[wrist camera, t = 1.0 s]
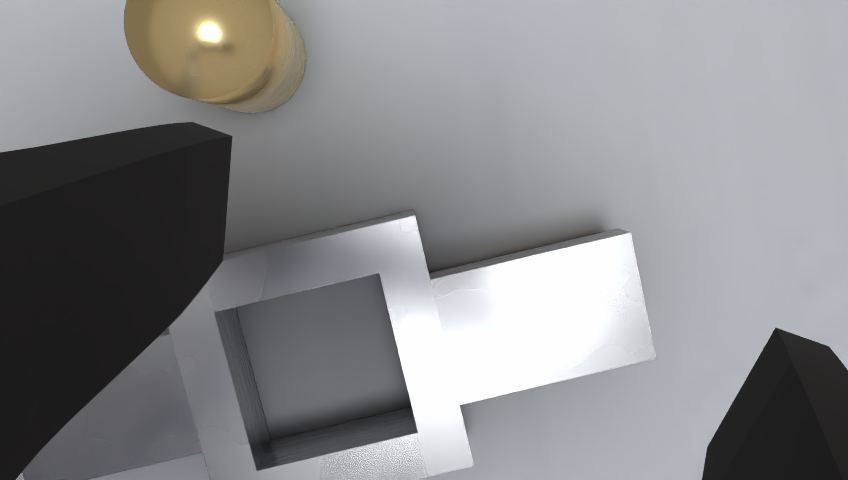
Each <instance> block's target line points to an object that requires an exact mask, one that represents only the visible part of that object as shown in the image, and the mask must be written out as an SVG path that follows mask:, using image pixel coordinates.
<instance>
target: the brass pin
mask: <svg viewBox="0 0 848 480" xmlns="http://www.w3.org/2000/svg"><path fill="white" fill-rule="evenodd" d="M124 30H125V36H126V41H127V44H128V47H129V50H130V52H131V54H132V56H133V58H134V60H135V62H136V63H137V65H138V66H139V68H140V69H141V70H142V71H143V72H144V74H145V75H146V76H147V77H148V78H149V79H151V80H152V81H153V82H154V83H155V84H157V85H158V86H160V87H161V88H163V89H165V90H167V91H169V92H171V93H173V94H176V95H179V96H182V97H186V98H189V99H193V100H197V101H201V102H204V103H208V104H212V105H216V106H219V107H223V108H227V109H231V110H234V111H238V112H243V113H262V112H266V111H270V110H272V109H275V108H277V107H279V106H280V105H282V104H283V103H285V102H286V101H287V100H288V99H290V97H291V96H292V95H293V94H294V93H295V92H296V90H297V89H298V87H299V85H300V83H301V81H302V79H303V76H304V72H305V67H306V51H305V46H304V42H303V39H302V37H301V35H300V32H299V31H298V29H297V28H296V26H295V25H294V23H293V22H292V21H291V20H290V19H289V17H288V16H287V15H286V14H285V12H284V11H283V10H282V9H281V8H280V6H279V5H278V4H277V3H276V1H275V0H127V1H126V6H125V11H124Z"/></svg>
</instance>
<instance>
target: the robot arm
mask: <svg viewBox="0 0 848 480" xmlns="http://www.w3.org/2000/svg"><path fill="white" fill-rule="evenodd" d="M231 146H232V136H230V135H227V134H225V133H222V132H219V131H216V130H213V129H210V128H208V127H205V126H202V125H199V124H196V123H193V122H187V123H173V124H165V125H158V126H151V127H145V128H139V129H133V130H127V131H121V132H116V133H111V134H105V135H100V136H94V137H89V138H83V139H78V140H72V141H67V142H61V143H56V144H51V145H45V146H40V147H34V148H27V149H21V150H14V151H7V152H1V153H0V480H16V478H17V477H18V476H19V475H20V474H21V473H22V471H23V470H24V469H25V468H26V467H27V466H28V464H29V463H30V462H31V461H32V460H33V459H34V457H35V456H36V455H37V454H38V453H39V452H40V451H41V449H42V448H43V447H44V446H45V445H46V444H47V443H48V442H49V441H50V440H51V439H52V438H53V437H54V436H55V435H56V434H57V433H58V432H59V431H60V430H61V429H62V428H63V427H64V426H65V425H66V424H67V423H68V422H69V421H70V420H71V419H72V418H73V417H74V416H75V415H76V414H77V413H78V412H79V411H81V410H82V409H83V408H84V407H85V406H86V405H87V404H88V403H89V402H90V401H91V400H92V399H93V398H94V397H95V396H96V395H97V394H99V393H100V392H101V391H102V390H103V389H104V388H105V387H106V386H107V385H108V384H109V383H110V382H111V381H112V380H113V379H114V378H115V377H117V376H118V375H119V374H120V373H121V372H122V371H123V370H124V369H125V368H126V367H127V366H128V365H129V364H130V363H131V362H132V361H134V360H135V359H136V358H137V357H138V356H139V355H140V354H141V353H142V352H143V351H144V350H145V349H146V348H147V347H148V346H149V345H150V344H151V343H152V342H153V341H154V340H155V339H157V338H158V337H159V336H160V335H161V334H162V333H163V332H164V331H165V330H166V329H167V328H168V327H169V326H170V325H171V324H172V323H173V322H174V321H175V320H176V319H177V318H178V317H179V316H180V315H181V314H182V313H183V312H184V311H185V309H186V308H187V307H188V306H189V304H190V303H191V302H192V301H193V299H194V298H195V297H196V296H197V295H198V293H199V292H200V291H201V290H202V288H203V287H204V286H205V284H206V283H207V282H208V280H209V279H210V278H211V276H212V275H213V274H214V272H215V271H216V270H217V268H218V267H219V266H220V264H221V263H222V262H223V253H224V240H225V227H226V213H227V200H228V186H229V173H230V160H231ZM702 480H848V370H847V369H846V367H845V366H844V365H843V363H842V362H841V361H840V360H839V358H838V357H837V356H836V355H835V353H834V352H833V351H832V350H831V349H830V347H829V346H826V345H823V344H820V343H817V342H815V341H812V340H809V339H806V338H803V337H800V336H798V335H795V334H792V333H789V332H786V331H783V330H781V329H778V328H775V330H774V331H773V333H772V335H771V337H770V338H769V340H768V342H767V344H766V345H765V347H764V349H763V351H762V352H761V354H760V356H759V358H758V359H757V361H756V363H755V365H754V366H753V368H752V370H751V372H750V373H749V375H748V377H747V379H746V380H745V382H744V384H743V386H742V387H741V389H740V391H739V393H738V394H737V396H736V398H735V400H734V401H733V403H732V405H731V407H730V408H729V410H728V412H727V414H726V415H725V417H724V419H723V421H722V422H721V424H720V426H719V428H718V429H717V431H716V433H715V435H714V436H713V438H712V440H711V442H710V444H709V445H708V447H707V453H706V459H705V465H704V471H703V477H702Z"/></svg>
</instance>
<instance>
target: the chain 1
mask: <svg viewBox="0 0 848 480" xmlns="http://www.w3.org/2000/svg"><path fill="white" fill-rule="evenodd" d="M410 213H414V210H409V211H405V212H401V213H397V214H392V215H388V216H384V217H380V218H375V219H371V220H367V221H363V222H358V223H354V224H350V225H346V226H341V227H337V228H333V229H329V230H324V231H320V232H316V233H312V234H307V235H303V236H299V237H295V238H290V239H286V240H282V241H278V242H274V243H269V244H265V245H261V246H257V247H252V248H248V249H244V250H240V251H235V252H231V253H227V254H223V257H227V256H231V255H236V254H240V253H244V252H248V251H253V250H257V249H261V248H265V247H270V246H274V245H278V244H282V243H287V242H291V241H295V240H299V239H303V238H308V237H312V236H316V235H320V234H325V233H329V232H333V231H337V230H342V229H346V228H350V227H354V226H359V225H363V224H367V223H371V222H376V221H380V220H384V219H388V218H393V217H397V216H401V215H405V214H410ZM225 311H226V314H227V318H228V322H229V326H230V329H231V333H232V337H233V341H234V344H235V348H236V352H237V356H238V359H239V363H240V367H241V371H242V374H243V378H244V382H245V386H246V389H247V393H248V397H249V401H250V404H251V408H252V412H253V416H254V419H255V423H256V427H257V431H258V434H259V438H260V442H261V446H262V449H263V453H264V455H265V454H269V453H274V452H278V451H282V450H286V449H291V448H295V447H299V446H303V445H307V444H312V443H316V442H320V441H324V440H329V439H333V438H337V437H341V436H345V435H350V434H354V433H358V432H362V431H367V430H371V429H375V428H379V427H383V426H388V425H392V424H396V423H400V422H405V421H409V420H413V419H415V418H414V414H413V410H412V407H408V408H404V409H400V410H396V411H391V412H387V413H383V414H379V415H374V416H370V417H366V418H362V419H358V420H353V421H349V422H345V423H341V424H336V425H332V426H328V427H324V428H320V429H315V430H311V431H307V432H303V433H298V434H294V435H290V436H286V437H282V438H277V439H273V440H270V436H269V432H268V428H267V424H266V421H265V417H264V413H263V409H262V406H261V402H260V398H259V394H258V391H257V387H256V383H255V379H254V375H253V372H252V368H251V364H250V360H249V357H248V353H247V349H246V345H245V342H244V338H243V334H242V330H241V326H240V323H239V319H238V315H237V311H236V308H235V307H234V308H230V309H226V310H225ZM197 453H202V448H201V445H200V441H199V437H198V434H197V430H196V426H195V423H194V419H193V416H192V412H191V408H190V405H189V401H188V397H187V394H186V390H185V387H184V383H183V379H182V376H181V372H180V368H179V365H178V361H177V358H176V354H175V350H174V347H173V343H172V339H171V336H170V332H169V329H166V330H165V331H164V332H163V333H162V334H161V335H160V336H159V337H158V338H157V339H155V340H154V341H153V342H152V343H151V344H150V345H149V346H148V347H147V348H146V349H145V350H144V351H143V352H142V353H141V354H140V355H139V356H138V357H137V358H136V359H135V360H134V361H132V362H131V363H130V364H129V365H128V366H127V367H126V368H125V369H124V370H123V371H122V372H121V373H120V374H119V375H118V376H117V377H115V378H114V379H113V380H112V381H111V382H110V383H109V384H108V385H107V386H106V387H105V388H104V389H103V390H102V391H101V392H100V393H99V394H97V395H96V396H95V397H94V398H93V399H92V400H91V401H90V402H89V403H88V404H87V405H86V406H85V407H84V408H83V409H82V410H81V411H79V412H78V413H77V414H76V415H75V416H74V417H73V418H72V419H71V420H70V421H69V422H68V423H67V424H66V425H65V426H64V427H63V428H62V429H61V430H60V431H59V432H58V433H57V434H56V435H55V436H54V437H53V438H52V439H51V440H50V441H49V442H48V443H47V444H46V445H45V446H44V447H43V448H42V449H41V451H40V452H39V453H38V454H37V455H36V456H35V457H34V459H33V460H32V461H31V462H30V463H29V464H28V466H27V467H26V468H25V469H24V470H23V471H22V473H23V476H24V479H25V480H88V479H92V478H96V477H100V476H105V475H109V474H113V473H117V472H121V471H126V470H130V469H134V468H138V467H142V466H147V465H151V464H155V463H159V462H164V461H168V460H172V459H176V458H180V457H185V456H189V455H193V454H197Z"/></svg>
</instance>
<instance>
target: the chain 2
mask: <svg viewBox="0 0 848 480" xmlns="http://www.w3.org/2000/svg"><path fill="white" fill-rule="evenodd" d="M378 273H379V274H380V278H381V282H382V286H383V290H384V295H385V299H386V303H387V307H388V311H389V315H390V319H391V323H392V327H393V332H394V336H395V340H396V344H397V348H398V352H399V356H400V360H401V365H402V369H403V373H404V377H405V381H406V385H407V389H408V393H409V397H410V402H411V406H412V410H413V414H414V418H415V419H413V420H409V421H405V422H400V423H396V424H392V425H388V426H383V427H379V428H375V429H371V430H367V431H362V432H358V433H354V434H350V435H345V436H341V437H337V438H333V439H329V440H324V441H320V442H316V443H312V444H307V445H303V446H299V447H295V448H291V449H286V450H282V451H278V452H274V453H269V454H265V455H264V453H263V449H262V446H261V442H260V438H259V434H258V431H257V427H256V423H255V419H254V416H253V412H252V408H251V404H250V401H249V397H248V393H247V389H246V386H245V382H244V378H243V374H242V371H241V367H240V363H239V359H238V356H237V352H236V348H235V344H234V341H233V337H232V333H231V329H230V326H229V322H228V318H227V314H226V311H225V310H226V309H230V308H234V307H238V306H242V305H247V304H251V303H255V302H259V301H264V300H268V299H272V298H276V297H281V296H285V295H289V294H293V293H298V292H302V291H306V290H310V289H315V288H319V287H323V286H327V285H331V284H336V283H340V282H344V281H348V280H353V279H357V278H361V277H365V276H370V275H374V274H378ZM168 329H169V332H170V336H171V339H172V343H173V347H174V350H175V354H176V358H177V361H178V365H179V368H180V372H181V376H182V379H183V383H184V387H185V390H186V394H187V397H188V401H189V405H190V408H191V412H192V416H193V419H194V423H195V426H196V430H197V434H198V437H199V441H200V445H201V448H202V452H203V455H204V459H205V463H206V466H207V470H208V474H209V477H210V480H417V479H421V478H425V477H429V476H433V475H438V474H442V473H446V472H450V471H454V470H459V469H463V468H467V467H471V466H474V464H473V459H472V455H471V451H470V447H469V442H468V438H467V434H466V430H465V425H464V421H463V417H462V413H461V408H460V405H462V404H466V403H470V402H474V401H479V400H483V399H487V398H491V397H496V396H500V395H504V394H508V393H512V392H517V391H521V390H525V389H529V388H534V387H538V386H542V385H546V384H550V383H555V382H559V381H563V380H567V379H572V378H576V377H580V376H584V375H588V374H593V373H597V372H601V371H605V370H610V369H614V368H618V367H622V366H626V365H631V364H635V363H639V362H643V361H647V360H652V359H656V354H655V350H654V345H653V340H652V335H651V330H650V325H649V320H648V315H647V311H646V306H645V301H644V296H643V291H642V286H641V281H640V276H639V272H638V267H637V262H636V257H635V252H634V247H633V242H632V237H631V233H630V232H627V231H624V230H621V229H614V230H610V231H606V232H602V233H597V234H593V235H589V236H585V237H580V238H576V239H572V240H568V241H563V242H559V243H555V244H551V245H547V246H542V247H538V248H534V249H530V250H525V251H521V252H517V253H513V254H508V255H504V256H500V257H496V258H491V259H487V260H483V261H479V262H475V263H470V264H466V265H462V266H458V267H453V268H449V269H445V270H441V271H436V272H432V273H428V269H427V264H426V260H425V256H424V252H423V247H422V243H421V239H420V235H419V230H418V226H417V222H416V218H415V213H410V214H405V215H401V216H397V217H393V218H388V219H384V220H380V221H376V222H371V223H367V224H363V225H359V226H354V227H350V228H346V229H342V230H337V231H333V232H329V233H325V234H320V235H316V236H312V237H308V238H303V239H299V240H295V241H291V242H287V243H282V244H278V245H274V246H270V247H265V248H261V249H257V250H253V251H248V252H244V253H240V254H236V255H231V256H227V257H223V262H222V263H221V264H220V266H219V267H218V268H217V270H216V271H215V272H214V274H213V275H212V276H211V278H210V279H209V280H208V282H207V283H206V284H205V286H204V287H203V288H202V290H201V291H200V292H199V293H198V295H197V296H196V297H195V298H194V299H193V301H192V302H191V303H190V304H189V306H188V307H187V308H186V309H185V311H184V312H183V313H182V314H181V315H180V316H179V317H178V318H177V319H176V320H175V321H174V322H173V323H172V324H171V325H170V326H169V327H168Z"/></svg>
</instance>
